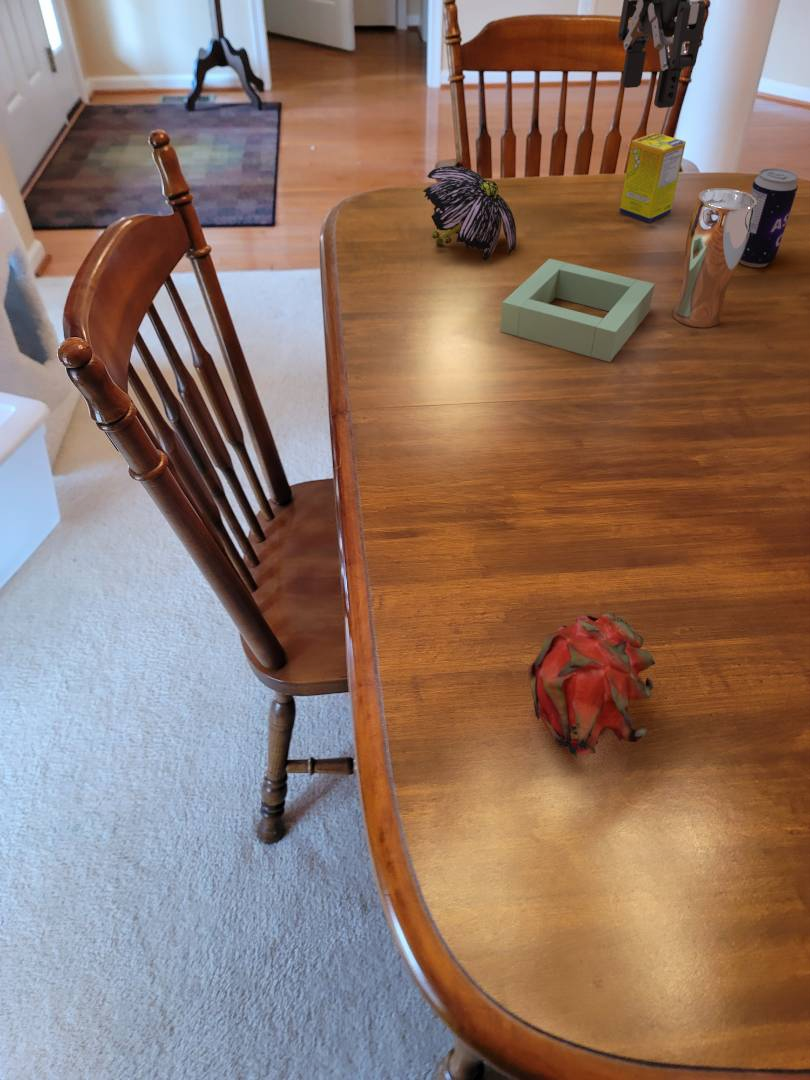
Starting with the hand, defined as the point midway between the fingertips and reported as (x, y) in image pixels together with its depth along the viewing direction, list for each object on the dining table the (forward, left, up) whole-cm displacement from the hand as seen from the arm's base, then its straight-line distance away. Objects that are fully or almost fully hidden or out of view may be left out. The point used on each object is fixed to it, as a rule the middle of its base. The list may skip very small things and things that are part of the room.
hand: (646, 96), depth 97 cm
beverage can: (-14, -19, -24) cm, 34 cm away
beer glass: (-12, +2, -24) cm, 27 cm away
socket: (+1, +11, -24) cm, 26 cm away
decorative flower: (+23, -2, -24) cm, 33 cm away
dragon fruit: (-22, +67, -24) cm, 75 cm away
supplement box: (+5, -28, -24) cm, 37 cm away
